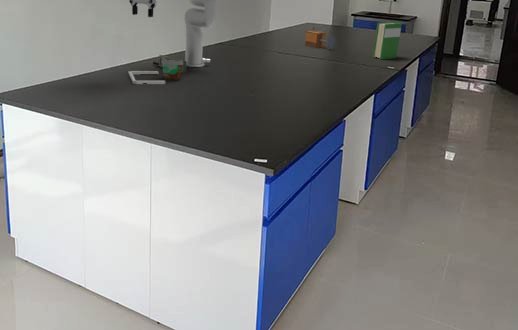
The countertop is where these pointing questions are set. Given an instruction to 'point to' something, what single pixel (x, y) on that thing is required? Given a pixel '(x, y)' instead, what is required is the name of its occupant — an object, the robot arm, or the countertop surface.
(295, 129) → the countertop surface
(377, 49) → the hardback book
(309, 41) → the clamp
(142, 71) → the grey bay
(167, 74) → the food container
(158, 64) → the handheld radio
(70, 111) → the countertop surface
